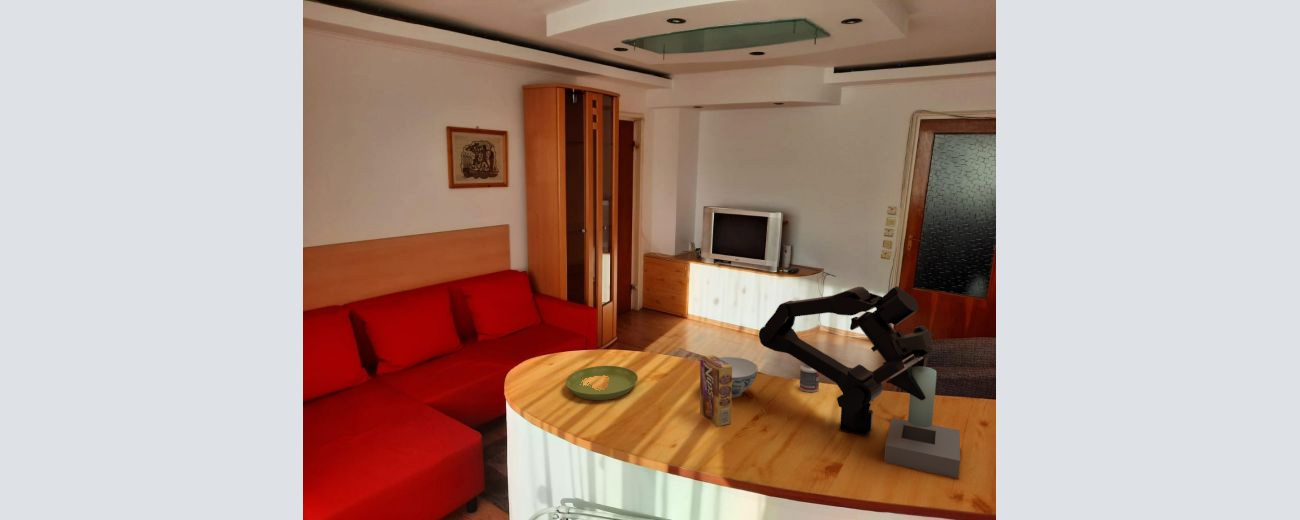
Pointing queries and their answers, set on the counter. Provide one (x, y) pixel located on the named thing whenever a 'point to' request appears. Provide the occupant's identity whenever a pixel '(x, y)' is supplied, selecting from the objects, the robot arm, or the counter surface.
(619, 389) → the saucer
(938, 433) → the socket block
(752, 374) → the chinaware
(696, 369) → the counter surface
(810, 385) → the pill bottle
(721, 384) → the candy box
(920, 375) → the teal peg
